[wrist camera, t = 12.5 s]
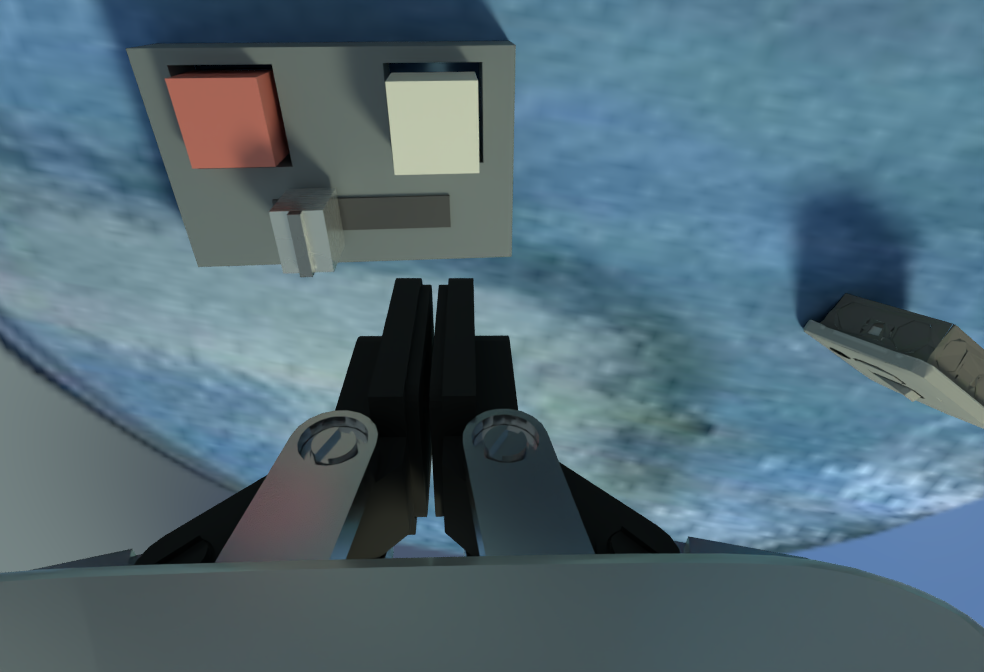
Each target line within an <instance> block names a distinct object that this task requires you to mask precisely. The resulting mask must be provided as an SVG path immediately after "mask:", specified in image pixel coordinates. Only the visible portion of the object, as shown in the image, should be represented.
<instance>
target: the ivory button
mask: <svg viewBox="0 0 984 672" xmlns="http://www.w3.org/2000/svg"><path fill="white" fill-rule="evenodd" d="M385 85H386V95H387V104H388V114H389V124H390V134H391V144H392V154H393V164H394V173H395V175H422V174H465V173H479V112H478V79H477V77H476V74H475V72H405V73H391V74H390V76H389V77H388V78H387V80H386V81H385Z"/></svg>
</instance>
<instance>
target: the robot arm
mask: <svg viewBox="0 0 984 672" xmlns="http://www.w3.org/2000/svg"><path fill="white" fill-rule="evenodd" d="M431 460H432V463H433V480H434V498H435V514H436V517H442V516H444V523H445V533H446V534H447V535H449V536H450V537H451V538H452V539H453V540H454V541H455V542H457V543H458V544H459V545H460V546H461V547H462V548H463V549H464V557H429V558H393V553H394V552H393V546H395V545H396V544H397V543H398V542H399V541H401V540H402V539H403V538H404V537H406V536H407V535H415V534H416V523H417V517H427V513H428V501H429V487H430V473H431ZM0 672H984V628H983V627H982V626H981V625H979V624H978V623H977V622H975V621H974V620H973V619H972V618H970V617H969V616H968V615H966V614H965V613H963V612H961V611H960V610H958V609H956V608H955V607H953V606H952V605H950V604H948V603H947V602H945V601H943V600H941V599H938V598H936V597H934V596H932V595H930V594H928V593H926V592H923V591H921V590H919V589H916V588H914V587H911V586H909V585H906V584H904V583H901V582H898V581H895V580H892V579H888V578H885V577H881V576H878V575H875V574H872V573H868V572H866V571H862V570H859V569H856V568H851V567H846V566H841V565H836V564H832V563H827V562H822V561H817V560H811V559H808V558H803V557H798V556H792V555H787V554H782V553H776V552H771V551H765V550H760V549H754V548H749V547H743V546H738V545H732V544H727V543H721V542H716V541H710V540H705V539H699V538H694V537H688V539H687V541H686V543H683V542H678V541H673V540H672V538H671V537H670V536H669V535H668V534H667V533H666V532H665V531H663V530H662V529H661V528H660V527H658V526H657V525H656V524H654V523H653V522H651V521H650V520H648V519H646V518H645V517H643V516H642V515H640V514H639V513H637V512H636V511H634V510H633V509H631V508H629V507H628V506H626V505H625V504H623V503H622V502H620V501H619V500H617V499H616V498H614V497H612V496H611V495H609V494H608V493H606V492H605V491H603V490H602V489H600V488H599V487H597V486H595V485H594V484H592V483H591V482H589V481H588V480H586V479H585V478H583V477H582V476H580V475H578V474H577V473H575V472H574V471H572V470H571V469H569V468H568V467H566V466H565V465H563V464H561V463H560V462H559V461H558V459H557V456H556V453H555V451H554V448H553V446H552V443H551V441H550V438H549V436H548V433H547V431H546V430H545V428H544V426H543V425H542V423H540V422H539V421H538V420H537V419H535V418H534V417H533V416H531V415H529V414H527V413H524V412H522V411H518V405H517V397H516V388H515V380H514V372H513V364H512V356H511V348H510V340H509V336H475V326H474V285H473V278H449V282H448V285H439V290H438V301H437V312H436V323H435V334H434V323H433V302H432V286H431V285H423V284H422V278H396V280H395V284H394V289H393V293H392V297H391V301H390V305H389V310H388V314H387V318H386V322H385V326H384V330H383V335H382V336H360V337H358V339H357V341H356V344H355V348H354V351H353V354H352V357H351V361H350V364H349V367H348V370H347V374H346V377H345V380H344V383H343V387H342V390H341V393H340V396H339V400H338V403H337V406H336V409H335V411H331V412H326V413H322V414H319V415H317V416H315V417H312V418H310V419H308V420H307V421H306V422H304V423H303V424H301V425H300V426H299V427H298V428H297V429H296V430H295V431H294V433H293V434H292V435H291V436H290V438H289V440H288V441H287V443H286V445H285V446H284V448H283V450H282V451H281V453H280V455H279V456H278V458H277V460H276V461H275V463H274V465H273V466H272V468H271V470H270V471H269V473H268V475H266V476H265V477H263V478H261V479H260V480H258V481H256V482H255V483H253V484H251V485H250V486H248V487H246V488H244V489H243V490H241V491H239V492H238V493H236V494H234V495H233V496H231V497H229V498H228V499H226V500H224V501H223V502H221V503H219V504H217V505H216V506H214V507H213V508H211V509H209V510H207V511H206V512H204V513H202V514H201V515H199V516H197V517H196V518H194V519H192V520H190V521H189V522H187V523H185V524H184V525H182V526H180V527H179V528H177V529H176V530H174V531H172V532H171V533H169V534H167V535H165V536H164V537H162V538H161V539H159V540H158V541H157V542H155V543H154V544H153V545H151V546H150V547H149V548H148V549H147V550H146V551H145V552H144V553H143V554H141V555H136V554H135V552H134V551H133V549H128V550H123V551H119V552H114V553H110V554H104V555H100V556H95V557H90V558H86V559H81V560H76V561H71V562H66V563H62V564H57V565H52V566H48V567H42V568H38V569H33V570H28V571H16V572H5V573H0Z"/></svg>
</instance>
